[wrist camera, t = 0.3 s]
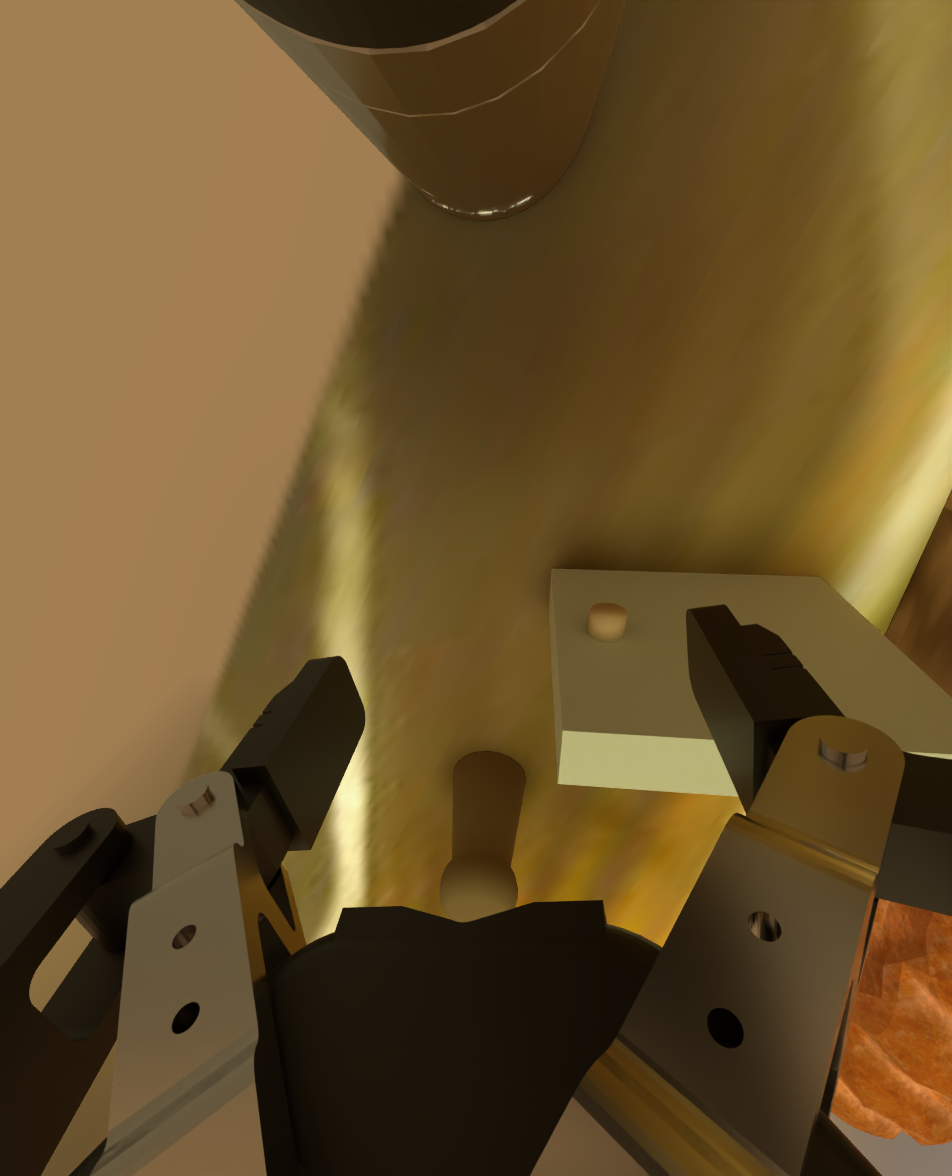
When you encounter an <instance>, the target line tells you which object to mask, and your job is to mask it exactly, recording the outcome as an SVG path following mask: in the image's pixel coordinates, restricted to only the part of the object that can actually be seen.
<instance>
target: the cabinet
mask: <svg viewBox="0 0 952 1176" xmlns="http://www.w3.org/2000/svg"><path fill="white" fill-rule="evenodd" d="M885 637H886V638H887V639H888V640H890V641H891V642H892V643H893V644H894V645H895V646H896V647H897V648H898V649H899V650H900V651H901V652H903V653H904V654H905V655H906V656H907V657H908V658H909V659H910V660H911V661H912V662H913V663H915V664H916V665H917V666H918V667H919V668H920V669H921V670H922V671H923V672H924V673H925V674H926V675H928V676H929V677H930V678H931V679H932V680H933V681H934V682H935V683H936V684H937V685H938V686H939V687H941V688H942V689H943V690H944V691H945V692H946V693H947V694H948V695H949V696H950V697H951V698H952V492H951V494H950V496H949V498H948V500H947V503H946V505H945V507H944V509H943V511H942V513H941V516H940V518H939V520H938V522H937V524H936V526H935V529H934V531H933V533H932V535H931V537H930V539H929V542H928V544H927V546H926V548H925V550H924V552H923V555H922V557H921V559H920V561H919V563H918V565H917V568H916V570H915V572H914V574H913V576H912V578H911V581H910V583H909V585H908V587H907V589H906V591H905V594H904V596H903V598H902V600H901V602H900V604H899V607H898V609H897V611H896V613H895V615H894V617H893V620H892V622H891V624H890V626H889V628H888V630H887V633H886V635H885Z"/></svg>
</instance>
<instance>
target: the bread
mask: <svg viewBox="0 0 952 1176" xmlns="http://www.w3.org/2000/svg"><path fill="white" fill-rule="evenodd" d="M831 1112H833V1113H834V1114H835V1115H836V1116H837V1117H839V1118H840V1119H841V1120H843V1121H844V1122H846V1123H847V1124H849V1125H851V1126H853V1127H854V1128H856V1129H859V1130H861V1131H864V1132H866V1133H869V1134H872V1135H874V1136H878V1137H883V1138H888V1139H894V1138H895V1137H896V1136H897V1135H898V1134H899V1132H901V1131H903V1132H905V1133H906V1134H908V1135H909V1136H910V1137H912V1138H913V1139H914V1140H916V1141H917V1142H918V1143H920V1144H921V1145H935V1144H944V1143H947V1142H950V1141H952V916H948V915H944V914H940V913H936V912H932V911H928V910H924V909H920V908H916V907H912V906H908V905H904V904H899V903H895V902H891V901H887V900H883V899H880V901H879V905H878V909H877V913H876V918H875V922H874V926H873V930H872V935H871V939H870V943H869V947H868V952H867V956H866V960H865V964H864V968H863V973H862V977H861V981H860V985H859V990H858V994H857V998H856V1002H855V1007H854V1011H853V1016H852V1021H851V1025H850V1030H849V1035H848V1040H847V1045H846V1049H845V1054H844V1058H843V1063H842V1067H841V1071H840V1076H839V1080H838V1084H837V1089H836V1093H835V1097H834V1101H833V1106H832V1110H831Z"/></svg>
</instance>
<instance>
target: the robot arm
mask: <svg viewBox="0 0 952 1176" xmlns="http://www.w3.org/2000/svg"><path fill="white" fill-rule="evenodd" d="M235 1H236V2H237V3H238V4H239V5H240V7H241V8H242V9H243V10H244V11H245V12H246V13H247V14H248V15H249V16H250V17H251V18H252V19H253V20H254V21H255V22H256V23H257V24H258V25H259V26H260V27H261V28H262V29H263V30H264V31H265V32H266V33H267V34H268V36H269V37H270V38H271V39H272V40H273V41H274V42H275V43H276V44H277V45H278V46H279V47H280V48H281V49H282V50H283V51H285V52H286V54H287V55H288V56H289V57H290V58H291V59H292V60H293V61H294V62H295V63H296V64H297V65H298V66H299V67H300V68H301V69H302V70H303V71H304V72H305V73H306V74H307V75H308V77H310V79H311V80H312V81H313V82H314V83H315V84H316V85H317V86H318V87H319V88H320V89H321V90H322V91H323V92H324V93H325V94H326V95H327V96H328V97H329V98H330V99H331V101H332V102H333V103H334V104H335V105H336V106H337V107H338V108H339V109H340V110H341V111H342V112H343V113H344V114H345V115H346V116H347V117H348V118H349V119H350V120H351V121H352V122H353V123H354V124H355V126H356V127H357V128H358V129H359V130H360V131H361V132H362V133H363V134H364V135H365V136H366V137H367V138H368V139H369V140H370V141H371V142H372V143H373V144H374V145H375V146H376V147H377V149H379V151H380V152H381V153H382V154H383V155H384V156H385V157H386V158H387V159H388V160H389V161H390V162H391V163H392V164H393V165H394V166H395V167H396V168H397V170H398V171H399V172H400V173H401V174H402V175H403V176H404V177H405V178H406V179H407V180H409V181H410V182H411V183H412V184H413V185H414V186H415V187H416V189H417V190H418V191H419V192H420V193H421V194H422V195H423V196H424V197H425V198H426V199H427V200H429V201H430V202H432V203H433V204H435V205H436V206H438V207H439V208H441V209H442V210H444V211H445V212H448V213H450V214H453V215H456V216H459V217H461V218H464V219H472V220H483V221H488V220H494V219H500V218H506V217H509V216H511V215H513V214H516V213H518V212H520V211H522V210H525V209H527V208H528V207H530V206H531V205H532V204H534V203H535V202H537V201H538V200H539V199H541V198H542V197H543V196H545V195H546V194H547V193H548V192H549V191H550V190H551V188H552V187H553V186H554V185H555V184H556V183H557V182H558V181H559V179H560V178H561V177H562V176H563V175H564V173H565V172H566V170H567V169H568V167H569V165H570V164H571V162H572V160H573V159H574V157H575V155H576V154H577V152H578V150H579V148H580V145H581V143H582V140H583V138H584V135H585V133H586V130H587V128H588V125H589V123H590V119H591V116H592V112H593V109H594V106H595V102H596V99H597V96H598V93H599V90H600V87H601V84H602V80H603V77H604V73H605V70H606V67H607V63H608V60H609V57H610V53H611V50H612V46H613V43H614V40H615V36H616V33H617V29H618V26H619V23H620V19H621V16H622V12H623V9H624V6H625V2H626V0H235ZM686 632H687V651H688V669H689V677H690V682H691V687H692V690H693V694H694V696H695V699H696V701H697V704H698V706H699V708H700V710H701V713H702V715H703V717H704V719H705V722H706V724H707V726H708V728H709V731H710V733H711V735H712V737H713V740H714V742H715V744H716V746H717V749H718V751H719V753H720V755H721V758H722V760H723V762H724V765H725V767H726V769H727V771H728V774H729V776H730V778H731V780H732V783H733V785H734V787H735V789H736V792H737V794H738V796H739V798H740V801H741V803H742V805H743V807H744V810H745V812H746V814H747V815H746V816H744V815H741V814H739V813H735V814H734V815H733V816H732V817H731V818H730V819H729V821H728V822H727V824H726V826H725V828H724V830H723V831H722V833H721V835H720V837H719V839H718V841H717V843H716V845H715V847H714V849H713V851H712V853H711V855H710V857H709V859H708V861H707V862H706V864H705V866H704V868H703V870H702V872H701V874H700V876H699V878H698V880H697V882H696V884H695V886H694V888H693V890H692V891H691V893H690V895H689V897H688V899H687V901H686V903H685V905H684V907H683V909H682V911H681V913H680V915H679V917H678V919H677V921H676V922H675V924H674V926H673V928H672V930H671V932H670V934H669V936H668V938H667V940H666V942H665V944H664V946H663V948H662V947H660V946H659V945H657V944H656V943H654V942H652V941H650V940H648V939H646V938H645V937H643V936H641V935H638V934H636V933H633V932H631V931H628V930H626V929H623V928H620V927H616V926H613V925H609V924H607V921H606V915H605V910H604V905H603V900H593V901H559V902H533V903H530V904H526V905H523V906H520V907H516V908H513V909H510V910H506V911H503V912H500V913H496V914H493V915H490V916H486V917H483V918H480V919H476V920H473V921H469V922H457V921H453V920H450V919H446V918H443V917H439V916H436V915H432V914H428V913H425V912H421V911H418V910H414V909H410V908H407V907H403V906H390V907H356V908H343V909H342V912H341V915H340V918H339V921H338V924H337V927H336V930H335V932H334V933H331V934H328V935H326V936H324V937H322V938H319V939H317V940H315V941H313V942H312V943H310V944H308V945H306V942H305V938H304V934H303V930H302V926H301V922H300V919H299V915H298V911H297V907H296V903H295V899H294V895H293V891H292V887H291V883H290V879H289V875H288V872H287V869H286V868H285V866H284V864H283V862H282V861H283V859H284V857H285V855H286V853H287V851H300V850H311V848H312V846H313V844H314V842H315V839H316V837H317V835H318V832H319V830H320V828H321V826H322V823H323V821H324V819H325V817H326V814H327V812H328V810H329V808H330V805H331V803H332V801H333V799H334V796H335V794H336V792H337V790H338V787H339V785H340V783H341V780H342V778H343V776H344V774H345V771H346V769H347V767H348V765H349V762H350V760H351V758H352V756H353V753H354V751H355V749H356V747H357V744H358V742H359V740H360V738H361V735H362V733H363V730H364V727H365V711H364V706H363V703H362V701H361V698H360V696H359V693H358V691H357V688H356V686H355V683H354V681H353V678H352V676H351V673H350V671H349V669H348V666H347V664H346V662H345V660H344V659H343V658H342V657H340V656H334V657H327V658H320V659H313V660H309V661H308V662H307V663H306V664H305V666H304V667H303V668H302V670H301V671H300V673H299V674H298V675H297V677H296V678H295V680H294V681H293V682H291V683H290V684H289V685H287V686H286V687H285V688H284V689H283V690H281V691H280V692H279V693H278V694H277V695H275V696H274V697H273V699H272V700H271V701H270V703H269V704H268V705H267V707H266V708H265V709H264V711H263V715H260V716H259V718H258V719H257V720H256V722H255V723H254V724H253V728H251V729H250V730H249V731H248V733H247V734H246V735H245V737H244V738H243V739H242V741H241V742H240V743H239V745H238V746H237V748H236V749H235V750H234V752H233V753H232V754H231V756H230V757H229V758H228V760H227V761H226V763H225V764H224V765H223V767H222V768H221V769H220V771H216V772H210V773H206V774H204V775H201V776H199V777H197V778H194V779H193V780H191V781H189V782H187V783H186V784H184V785H183V786H181V787H180V788H179V789H177V790H176V791H175V792H174V793H173V794H172V795H171V796H170V797H169V798H168V799H167V800H166V801H165V802H164V804H163V805H162V806H161V808H160V810H159V811H158V814H157V815H154V816H151V817H148V818H145V819H142V820H139V821H137V822H133V823H131V824H128V825H125V824H124V822H123V821H122V820H121V818H120V817H119V816H118V814H117V813H116V812H115V810H113V809H110V808H101V809H96V810H93V811H90V812H87V813H85V814H83V815H81V816H79V817H77V818H75V819H73V820H72V821H70V822H68V823H67V824H65V825H64V826H62V827H61V828H60V829H58V830H57V831H56V832H55V833H53V834H52V835H51V836H50V837H49V838H48V839H47V840H46V841H45V842H44V843H43V844H42V845H41V846H40V847H39V848H38V849H37V850H36V851H35V852H34V854H32V856H31V857H30V858H29V859H28V860H27V861H26V862H25V863H24V864H23V865H22V866H21V868H19V870H18V871H17V872H16V873H15V874H14V875H13V876H12V877H11V878H10V879H9V880H8V881H7V883H6V884H5V885H4V886H3V887H2V888H1V889H0V1176H41V1174H42V1172H43V1170H44V1169H45V1167H46V1165H47V1163H48V1162H49V1160H50V1158H51V1156H52V1154H53V1153H54V1151H55V1149H56V1147H57V1145H58V1144H59V1142H60V1140H61V1138H62V1136H63V1135H64V1133H65V1131H66V1129H67V1127H68V1126H69V1124H70V1122H71V1120H72V1119H73V1117H74V1115H75V1113H76V1111H77V1110H78V1108H79V1106H80V1104H81V1102H82V1101H83V1099H84V1097H85V1095H86V1093H87V1092H88V1090H89V1088H90V1086H91V1085H92V1083H93V1081H94V1079H95V1077H96V1076H97V1074H98V1072H99V1070H100V1068H101V1067H102V1065H103V1063H104V1061H105V1059H106V1058H107V1056H108V1054H109V1052H110V1051H111V1049H112V1047H113V1045H114V1043H115V1042H116V1040H117V1043H116V1054H115V1065H114V1076H113V1086H112V1097H111V1108H110V1117H109V1128H108V1136H107V1137H106V1139H105V1140H104V1141H103V1142H102V1143H101V1144H100V1145H99V1146H98V1147H97V1148H96V1149H95V1150H94V1151H93V1152H92V1153H91V1154H90V1155H89V1156H88V1157H87V1158H86V1159H85V1160H84V1161H83V1162H82V1163H81V1164H80V1165H79V1166H78V1167H77V1168H76V1169H75V1170H74V1171H73V1172H72V1173H71V1174H70V1175H69V1176H882V1175H881V1174H880V1173H879V1172H878V1171H877V1170H876V1169H875V1167H874V1166H873V1165H872V1164H871V1163H870V1162H869V1161H868V1160H867V1159H866V1158H865V1157H864V1156H863V1155H862V1154H861V1152H860V1151H859V1150H858V1149H857V1148H856V1147H855V1146H854V1145H853V1144H852V1143H851V1142H850V1140H849V1139H848V1138H847V1137H846V1136H845V1135H844V1134H843V1133H842V1132H841V1131H840V1130H839V1129H838V1127H837V1126H835V1124H834V1123H833V1122H832V1121H831V1120H830V1119H829V1118H830V1114H831V1110H832V1106H833V1101H834V1097H835V1093H836V1089H837V1084H838V1080H839V1076H840V1071H841V1067H842V1063H843V1058H844V1054H845V1049H846V1045H847V1040H848V1035H849V1030H850V1025H851V1021H852V1016H853V1011H854V1007H855V1002H856V998H857V994H858V990H859V985H860V981H861V977H862V973H863V968H864V964H865V960H866V956H867V952H868V947H869V943H870V939H871V935H872V930H873V926H874V922H875V918H876V913H877V909H878V905H879V901H880V899H883V900H887V901H891V902H895V903H899V904H904V905H908V906H912V907H916V908H920V909H924V910H928V911H932V912H936V913H940V914H944V915H948V916H952V759H945V758H938V757H930V756H923V755H918V754H912V753H908V752H904V751H902V750H901V749H900V747H899V746H898V745H897V743H896V742H895V741H894V740H893V739H891V738H890V737H889V736H888V735H886V734H885V733H884V732H882V731H881V730H879V729H877V728H875V727H873V726H871V725H869V724H866V723H864V722H861V721H858V720H855V719H851V718H846V717H845V716H844V714H843V713H842V712H841V711H840V709H839V708H838V707H837V706H836V705H835V703H834V702H833V701H832V700H831V698H830V697H829V696H828V695H827V694H826V692H825V691H824V690H823V689H822V687H821V686H820V685H819V684H818V683H817V681H816V680H815V679H814V678H813V676H812V675H811V674H810V673H809V672H808V670H807V669H804V667H803V664H802V663H801V662H800V661H799V659H798V658H797V657H796V656H795V655H793V654H792V651H791V650H790V648H789V647H788V646H787V645H786V644H785V642H784V641H783V640H782V639H781V637H780V636H779V635H777V634H775V633H773V632H771V631H770V630H768V629H766V628H764V627H762V626H760V625H759V624H750V625H742V626H741V625H740V624H739V622H738V621H737V619H736V618H735V617H734V615H733V614H732V612H731V611H730V610H729V608H728V607H727V606H726V605H725V604H721V605H714V606H706V607H699V608H692V609H687V611H686ZM74 918H76V919H77V920H78V921H79V922H80V924H81V925H82V926H83V927H84V928H85V929H86V930H87V931H88V932H89V933H90V934H91V936H92V937H93V938H92V940H91V941H90V943H89V944H88V946H87V947H86V949H85V950H84V951H83V953H82V954H81V956H80V957H79V958H78V960H77V962H76V963H75V964H74V966H73V967H72V969H71V970H70V971H69V973H68V974H67V976H66V977H65V979H64V980H63V982H62V983H61V984H60V986H59V987H58V989H57V990H56V992H55V993H54V995H53V996H52V997H51V999H50V1000H49V1002H48V1003H47V1005H46V1006H45V1007H44V1009H43V1010H42V1012H40V1011H38V1010H37V1009H36V1008H35V1007H34V1006H33V1005H32V1003H31V1001H30V997H29V988H30V984H31V980H32V978H33V975H34V973H35V971H36V969H37V968H38V966H39V965H40V964H41V962H42V961H43V960H44V958H45V957H46V956H47V954H48V953H49V952H50V950H51V949H52V948H53V946H54V945H55V944H56V942H57V941H58V940H59V938H60V937H61V936H62V934H63V933H64V932H65V930H66V929H67V928H68V926H69V925H70V924H71V922H72V921H73V920H74Z"/></svg>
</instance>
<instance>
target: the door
mask: <svg viewBox="0 0 952 1176" xmlns="http://www.w3.org/2000/svg"><path fill="white" fill-rule="evenodd" d="M721 604H725V605H726V606H727V607H728V608H729V610H730V611H731V612H732V614H733V615H734V617H735V618H736V619H737V621H738V622H739V624H740V625H741V626H742V625H750V624H759V625H760V626H762V627H764V628H766V629H768V630H770V631H771V632H773V633H775V634H777V635H779V636H780V637H781V639H782V640H783V641H784V642H785V644H786V645H787V646H788V647H789V648H790V650H791V651H792V654H793V655H795V656H796V657H797V658H798V659H799V661H800V662H801V663H802V664H803V667H804V669H807V670H808V672H809V673H810V674H811V675H812V676H813V678H814V679H815V680H816V681H817V683H818V684H819V685H820V686H821V687H822V689H823V690H824V691H825V692H826V694H827V695H828V696H829V697H830V698H831V700H832V701H833V702H834V703H835V705H836V706H837V707H838V708H839V709H840V711H841V712H842V713H843V714H844V716H845V717H846V718H851V719H855V720H858V721H861V722H864V723H866V724H869V725H871V726H873V727H875V728H877V729H879V730H881V731H882V732H884V733H885V734H886V735H888V736H889V737H890V738H891V739H893V740H894V741H895V742H896V743H897V745H898V746H899V747H900V749H901V750H902V751H904V752H908V753H912V754H918V755H923V756H930V757H938V758H945V759H952V698H951V697H950V696H949V695H948V694H947V693H946V692H945V691H944V690H943V689H942V688H941V687H939V686H938V685H937V684H936V683H935V682H934V681H933V680H932V679H931V678H930V677H929V676H928V675H926V674H925V673H924V672H923V671H922V670H921V669H920V668H919V667H918V666H917V665H916V664H915V663H913V662H912V661H911V660H910V659H909V658H908V657H907V656H906V655H905V654H904V653H903V652H901V651H900V650H899V649H898V648H897V647H896V646H895V645H894V644H893V643H892V642H891V641H890V640H888V639H887V638H886V637H885V636H884V635H883V634H882V633H881V632H880V631H879V630H878V629H877V628H875V627H874V626H873V625H872V624H871V623H870V622H869V621H868V620H867V619H866V618H865V617H864V616H862V615H861V614H860V613H859V612H858V611H857V610H856V609H855V608H854V607H853V606H852V605H851V604H849V603H848V602H847V601H846V600H845V599H844V598H843V597H842V596H841V595H840V594H839V593H838V592H836V591H835V590H834V589H833V588H832V587H831V586H830V585H829V584H828V583H827V582H826V581H825V580H823V579H822V578H821V577H813V576H780V575H747V574H714V573H681V572H647V571H614V570H581V569H551V584H550V599H549V621H550V641H551V660H552V679H553V699H554V718H555V738H556V757H557V776H558V784H568V785H582V786H596V787H610V788H624V789H638V790H652V791H666V792H680V793H694V794H708V795H722V796H736V797H739V796H738V794H737V792H736V789H735V787H734V785H733V783H732V780H731V778H730V776H729V774H728V771H727V769H726V767H725V765H724V762H723V760H722V758H721V755H720V753H719V751H718V749H717V746H716V744H715V742H714V740H713V737H712V735H711V733H710V731H709V728H708V726H707V724H706V722H705V719H704V717H703V715H702V713H701V710H700V708H699V706H698V704H697V701H696V699H695V696H694V694H693V690H692V687H691V682H690V677H689V669H688V651H687V632H686V611H687V609H692V608H699V607H706V606H714V605H721Z"/></svg>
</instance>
